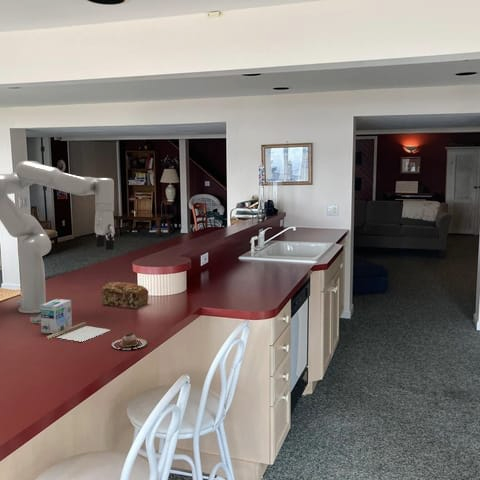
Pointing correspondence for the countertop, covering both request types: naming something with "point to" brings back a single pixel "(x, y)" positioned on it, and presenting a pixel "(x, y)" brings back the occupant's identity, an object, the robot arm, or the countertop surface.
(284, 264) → the countertop surface
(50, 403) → the countertop surface
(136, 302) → the bread
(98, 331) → the white flat sheet
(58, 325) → the light bulb box
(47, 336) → the maple strip
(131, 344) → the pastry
